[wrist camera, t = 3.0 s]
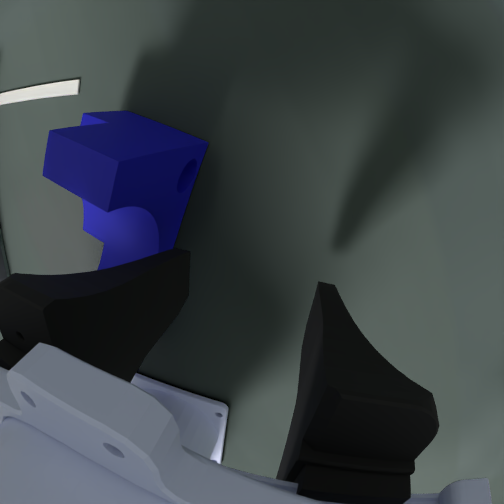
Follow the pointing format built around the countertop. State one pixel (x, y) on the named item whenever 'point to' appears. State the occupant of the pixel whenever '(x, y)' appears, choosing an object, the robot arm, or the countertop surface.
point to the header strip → (3, 261)
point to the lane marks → (41, 91)
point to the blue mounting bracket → (126, 180)
